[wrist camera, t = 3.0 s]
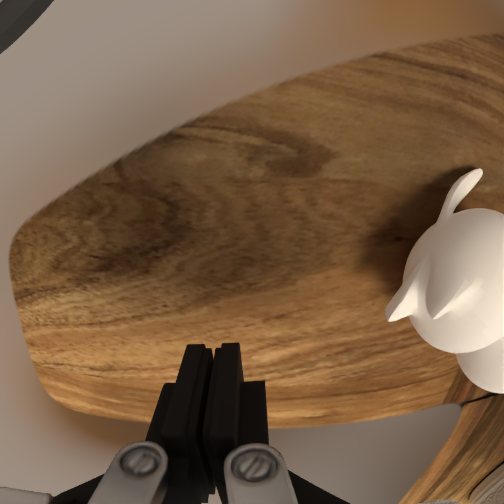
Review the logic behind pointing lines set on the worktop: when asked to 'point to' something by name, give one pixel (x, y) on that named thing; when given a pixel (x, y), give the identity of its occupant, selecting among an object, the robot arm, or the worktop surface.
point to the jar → (490, 489)
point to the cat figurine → (459, 287)
